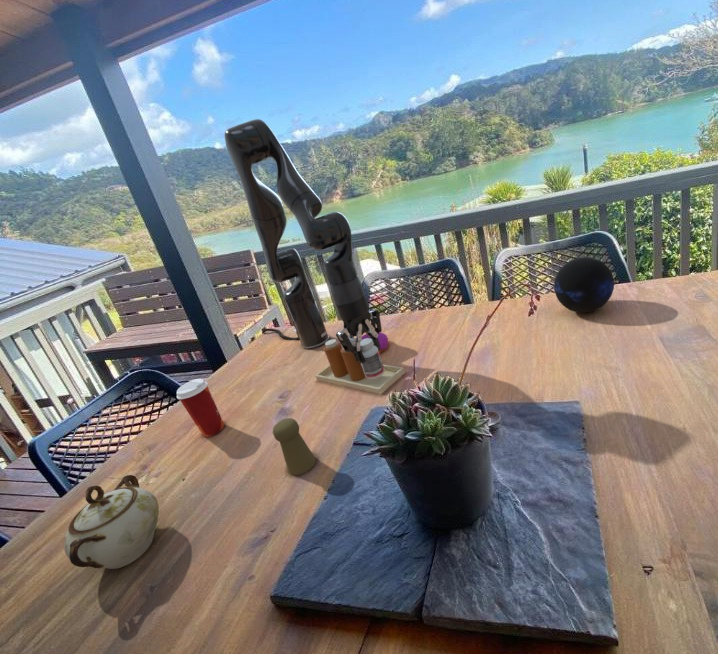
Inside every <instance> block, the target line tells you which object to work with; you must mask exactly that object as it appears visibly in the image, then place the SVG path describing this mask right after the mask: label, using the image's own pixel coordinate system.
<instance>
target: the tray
mask: <svg viewBox="0 0 718 654" xmlns="http://www.w3.org/2000/svg"><path fill="white" fill-rule="evenodd" d="M383 366H384V369H385V372H384V374H383V375H382V376H380V377H378V378H375V379H368V378H366V377H365V378H364V379H362V380H359V381H352V380H351V378H350V376H349V373H348V374H347V375H345V376H343V377H339V378H337V377H334V374H333V372H332V369H331V366H330V364H328V365H327V366H325V368H323V369H322V370H321V371H319V372H318V373H316V374H315V375H314V376H315V379H316V381H319V382H324V383H328V384H333V385H337V386H341V387H345V388H350V389H356V390H359V391H364V392H368V393H373V394H377V395H383V393H384V392H385V391H387V389H389V388H390V387H391V386H392V385H393V384H394V383H396V382H397V380H399V379H400V378H401V377H403V375H404V374H405V373H406V371H405V368H404V367H401V366H395V365H389V364H383Z"/></svg>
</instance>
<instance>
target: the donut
mask: <svg viewBox="0 0 718 654" xmlns="http://www.w3.org/2000/svg"><path fill="white" fill-rule="evenodd" d="M367 338H370V337H369V336H368V335H367V334H366V333H364V334H363V335H362V340H363V339H367ZM378 340H379V344H380V351H379V354H381V353H383V352H385V351H386V350H387V348H388V344H389V343H388V342H389V338H388V335H387V334H386V333H384V332H382V331H381V332H379V334H378Z"/></svg>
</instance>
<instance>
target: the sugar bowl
mask: <svg viewBox="0 0 718 654" xmlns="http://www.w3.org/2000/svg"><path fill="white" fill-rule="evenodd" d="M123 485H124V486H123ZM94 491H96V493H97V495H96V498H93V496H92V494H93V492H94ZM85 501H86V502H87V503H88V504H86V505H85V506H84V507H83V508H82V509H80V510H79V512H77V513H76V514H75V516H74V517H73V518H72V519H71V521H70V522H69V525H68V527H67V531H66V533H65V536H64V539H63V550H64V553H65V555H66V557H67V558H68V559H69V561H70V563H71V564H72V565H73V566H74V567H77V568H78V567H79V568H93V569H109V570H117V569H120V568H123V567H126V566H128V565H130V564H132V563H133V562H135V561H136V560H138V559H139V558H140V557H142V556H143V555H144V553H146V551H147V550H148V549H149V548H150V546H151V544H152V542H153V539H154V535H155V531H156V529H157V524H158V519H159V512H160V511H159V509H160V507H159V502H158V500H157V497H156V496H155V494H153V493H152V492H151V491H149V490H148V489H145V488H141V487H140V483H139V480H138V478H137V477H136V476H135V475H133V474H127V475H125V476H123V477H122V479H121V480H120V481H119V483H118V484H117V485H116V486H115V488H114V489H113V490H110V491H107V492H106V493H105V490H104V489H103V487H101V486H100V485H91V486H88V487H87V488H86V491H85Z"/></svg>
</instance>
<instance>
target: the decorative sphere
mask: <svg viewBox="0 0 718 654" xmlns="http://www.w3.org/2000/svg"><path fill="white" fill-rule="evenodd" d="M553 287H554V294H555V296H556V298H557V300H558V302H559V303H560V305H562V306H563V307H564V308H566V309H568V310H569V311H572V312H575V313H580V314H585V313H586V314H587V313H593V312H594V311H597V310H599V309H601V308H602V307H604V306H605V305H606V304H607V303H608V302H609V300H610V299H611V297H612V295H613V292H614V288H615V279H614V276H613V273H612V270H611V269H610V268H609V266H608V265H607V264H605V263H604V262H602V260H599V259H597V258H595V257H588V256H583V257H577V258H573V259H571V260H569V261H567V262H566V263H565V264H564V265H562V267H561V268H559V270H558V272H557V273H556V276H555V279H554V283H553Z"/></svg>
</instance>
